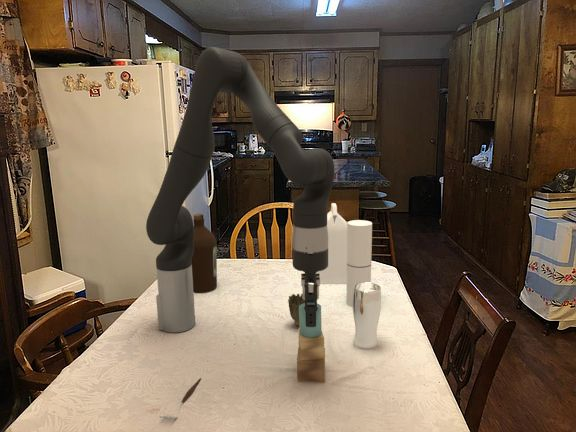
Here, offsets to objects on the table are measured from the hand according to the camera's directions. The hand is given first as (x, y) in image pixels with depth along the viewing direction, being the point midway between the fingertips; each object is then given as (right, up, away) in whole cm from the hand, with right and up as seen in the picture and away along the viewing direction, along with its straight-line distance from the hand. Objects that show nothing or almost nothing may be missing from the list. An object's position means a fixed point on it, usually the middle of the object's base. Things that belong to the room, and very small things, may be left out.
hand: (310, 317), depth 102 cm
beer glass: (+15, -10, +16) cm, 24 cm away
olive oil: (-33, -2, +55) cm, 64 cm away
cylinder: (0, -3, +1) cm, 4 cm away
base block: (0, -13, +3) cm, 14 cm away
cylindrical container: (+16, -5, +41) cm, 44 cm away
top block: (0, -8, +2) cm, 9 cm away
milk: (+11, 0, +62) cm, 63 cm away
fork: (-26, -16, -6) cm, 31 cm away
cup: (-1, -8, +26) cm, 28 cm away
